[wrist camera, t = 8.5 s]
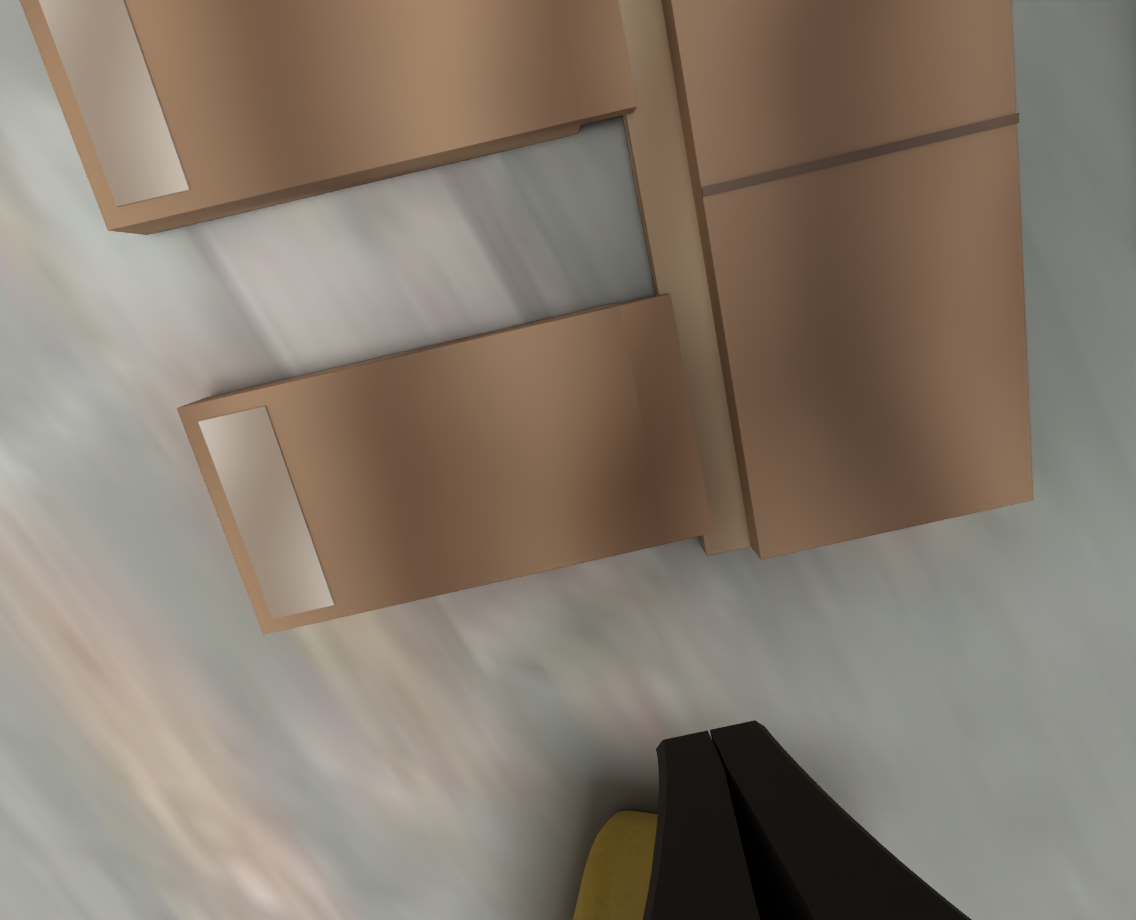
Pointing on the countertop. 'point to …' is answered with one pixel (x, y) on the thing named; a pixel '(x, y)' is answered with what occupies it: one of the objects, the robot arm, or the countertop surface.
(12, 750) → the countertop surface
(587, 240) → the countertop surface
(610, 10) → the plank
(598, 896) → the flower pot
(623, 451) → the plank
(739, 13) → the laid floor
